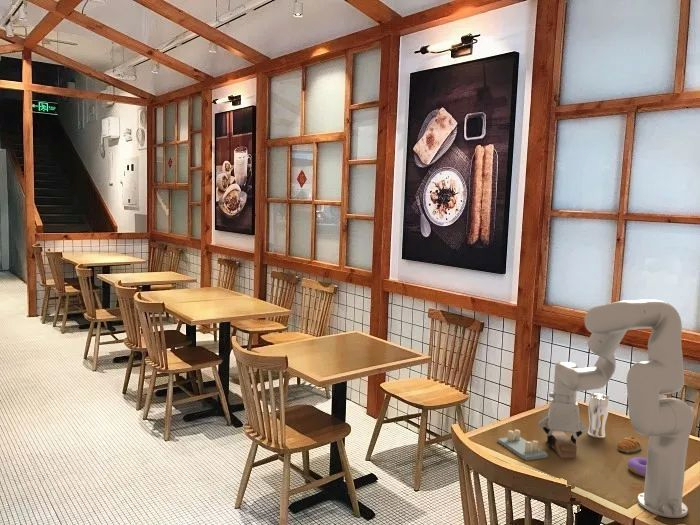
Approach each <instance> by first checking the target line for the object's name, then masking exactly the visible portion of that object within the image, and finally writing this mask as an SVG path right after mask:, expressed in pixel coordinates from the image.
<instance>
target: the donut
mask: <svg viewBox="0 0 700 525" xmlns="http://www.w3.org/2000/svg"><path fill="white" fill-rule="evenodd" d="M646 464H647V457H641V456H639V457H637V456H635V457H632V458H630V459H629V460H628V462H627V467H628V469H629V470H630V472H632V473H633V474H635V475H637V476H639V477H644V478H645V476H646Z"/></svg>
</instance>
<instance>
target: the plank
mask: <svg viewBox="0 0 700 525" xmlns="http://www.w3.org/2000/svg"><path fill="white" fill-rule="evenodd" d="M552 436H553V439H552V447H551V448H552V449H553V450H554V451H555V452H556V453H557V454H558V456H559V457H560V458H561V459H563V458H565V459H566V458H568V459H577V448H578V446H577V444H576V445H575V444H574V443H573V442H572V441H571V437H569V436H568V435H567V434H566V433H565V431H557V430H554V431H553V433H552ZM547 437H548V434H547V436H546V438H547Z"/></svg>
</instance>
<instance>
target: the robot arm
mask: <svg viewBox="0 0 700 525" xmlns="http://www.w3.org/2000/svg"><path fill="white" fill-rule="evenodd" d="M584 326H585V329H586V330H587V331H588V332H590V336H589V338H588V340H587V347H588V348H589V350H590V352H592V353H594V354H595V355H597V356H598V358H597V360H596V361H595V364H594V365H593V366H588V367H587V366H586V367H578V365H577V364H576V363H574V362H572V361H571V362H570V361H558V362H556V363H555V365H554V366H555V367H554V376H553V378H554V380H553V390H552V392H549V393H548V397H550V398H551V399H550V401H549V402H550V403H549V406H548V411H547V416H545V417H544V418H542V419H541V420H540V421H539V422H538V425H539V427H540V428H541V429H543V431H544V432H545V433H546V434H547V435H548V437H547V436H546V442H547V444H548V446H549V447H550V448H553V447H552V439H553V436H552V433H553V431H554V430H557V431H563V432H566V433H571V435H570V439H571V441H572V442H573V443H574V444H575V445H576V446H577V439H578V438H579V437H580V436H581V435H583V433H585V432H586V431H588V428H587V426H585V424H584V423H583V422H582V421H581V420H580V408H579V403H578V402H577V393H578V392H586V391H593V390H594V391H595V390H601V389H604V387H605V386H607V385H608V383H609V382H610V381H611V379H612V377H613V375H614V373H615V370H616V367H617V366H616V356H615V352H616V350H617V349H618V347H619V346H620V343H621V342H622V340H623V339H624V337H625V335H626V333H627V332H628V331H632V330H644V329H645V330H646V329H650V330H652V332H651V333H650V336H649V338H648V342H647V351H648V352H647V353H648V356H647V357H648V360H647V361H646V360H645V361H644V360H643V361H638V362H636V363H634V364H633V365H631V367H630V368H629V370H628V372H627V375H626V392H627V407H628V416H629V421H630V424H631V427H632V429H633V430H634V431H635V432H636V433H638V434H639V435H640V436H643V437H648V438H649V439H648V444H647V455H646V458H647V464H646V476H645V477H644V490H643V492H641V493H639V494H638V495H637V498H636V499H637V500H636V501H637V503H638V504H640V505H641V506H643V507H644V508H646V509H647V510H649V511H650V513H651V512H652V514H654V515H657V516H660V517H665V518H671V519H678V518H679V519H680V518H684V517H686V516H687V515H688V510H689V509H688V506H687V505H686V504H685V503H684V502H683V494H684V493H683V492H684V482H685V470H686V460H687V451H688V443H689V439H690V435H691V432H692V429H693V425H694V420H695V419H694V413H693V410H692V408H691V406H690V405H689V404H688V403H687V402H686V401H684V400H682V399H679V398H675V397H665V398H660V396H661V395H662V396H663V395H669V394H670V395H671V394H674V393H677V392H680V391H681V390H683V387H684V385H685V371H684V370H685V368H684V356H683V349H682V334H683V333H682V332H683V331H682V328H683V324H682V319H681V316H680V314H679V312H678V310H677V309H676V308H675V307H674V306H673V305H671V304H670V303H668V302H666V301H664V300H660V299H635V300H634V299H632V300H631V299H630V300H629V299H628V300H619V301H615V302H610V303H607V304H602V305H597V306H594V307H591V308H590V309H589V310H588V311H587V313H586V314H585V316H584ZM546 423H547V426H546V425H545V424H546ZM640 505H639V506H640ZM641 506H640V507H641ZM643 507H642V508H643ZM644 508H643V509H644ZM647 510H646V511H647ZM649 511H648V512H649Z"/></svg>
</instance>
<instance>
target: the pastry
mask: <svg viewBox="0 0 700 525" xmlns="http://www.w3.org/2000/svg"><path fill="white" fill-rule="evenodd" d="M616 447H617V450H618V451H619V452H620V451H621V452H623V453H627V454H629V453H636V452H639V451H640V450H641V448H643V447H642V444H641V442H640V440H639V439H638V438H636V437H634V436H626V437H624V438H621V439H620V440H619V441H618V443H617V446H616Z"/></svg>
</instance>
